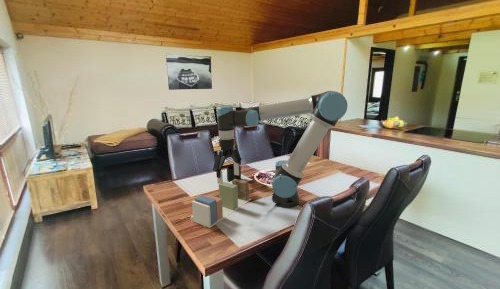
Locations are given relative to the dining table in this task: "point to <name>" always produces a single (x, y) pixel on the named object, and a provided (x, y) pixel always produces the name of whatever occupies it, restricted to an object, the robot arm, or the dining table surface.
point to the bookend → (242, 189)
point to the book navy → (212, 204)
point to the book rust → (218, 206)
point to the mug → (231, 173)
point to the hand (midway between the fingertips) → (228, 179)
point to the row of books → (203, 212)
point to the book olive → (228, 195)
